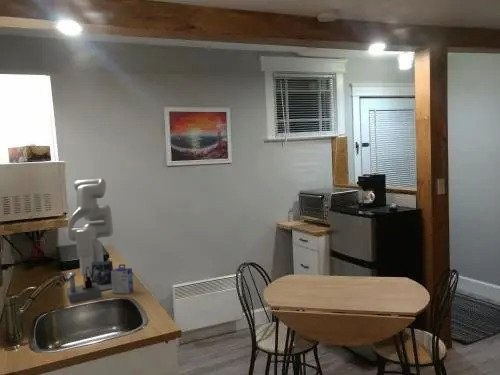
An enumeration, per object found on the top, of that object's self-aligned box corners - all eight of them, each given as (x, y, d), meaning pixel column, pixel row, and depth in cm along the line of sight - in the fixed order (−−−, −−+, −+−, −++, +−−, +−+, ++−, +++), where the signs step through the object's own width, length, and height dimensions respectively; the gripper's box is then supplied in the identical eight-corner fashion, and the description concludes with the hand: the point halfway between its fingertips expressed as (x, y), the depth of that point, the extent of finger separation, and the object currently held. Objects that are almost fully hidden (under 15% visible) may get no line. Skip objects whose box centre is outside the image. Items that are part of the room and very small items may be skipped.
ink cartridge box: (134, 290, 237) (132, 263, 236) (129, 293, 232) (127, 266, 230) (117, 290, 239) (115, 263, 238) (112, 293, 234) (109, 266, 233)
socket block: (67, 295, 235) (65, 274, 234) (96, 289, 242) (94, 269, 241) (70, 303, 223) (67, 280, 222) (101, 296, 229) (99, 275, 228)
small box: (87, 285, 250) (85, 265, 249) (91, 282, 257) (89, 261, 256) (110, 284, 250) (108, 263, 249) (114, 280, 257) (112, 260, 256)
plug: (83, 294, 234) (81, 278, 234) (93, 292, 237) (91, 276, 236) (84, 297, 230) (82, 280, 229) (94, 295, 232) (93, 278, 231)
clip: (68, 275, 230) (67, 270, 230) (76, 274, 231) (76, 269, 231) (61, 283, 216) (61, 279, 215) (70, 282, 216) (69, 278, 216)
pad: (96, 287, 246) (96, 286, 246) (113, 284, 250) (113, 283, 250) (99, 291, 238) (99, 290, 238) (116, 288, 242) (116, 287, 242)
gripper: (75, 250, 237) (78, 283, 239) (79, 257, 222) (82, 292, 224) (90, 248, 240) (93, 281, 242) (95, 254, 225) (98, 289, 227)
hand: (88, 286), depth 233 cm, fingers closed on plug, 5 cm apart
